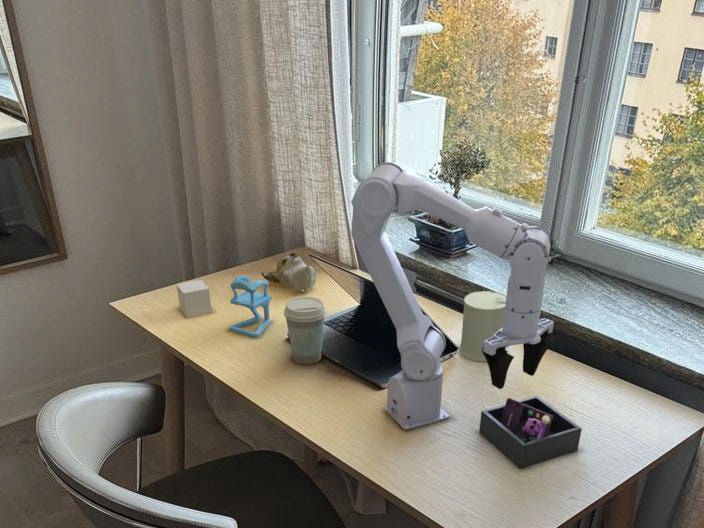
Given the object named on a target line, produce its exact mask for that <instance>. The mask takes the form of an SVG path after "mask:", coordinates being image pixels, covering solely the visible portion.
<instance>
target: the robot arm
mask: <svg viewBox="0 0 704 528" xmlns="http://www.w3.org/2000/svg"><path fill="white" fill-rule="evenodd" d="M351 206H352V214H351V216H352V217H351V232H350V234H351V238H352V240H353V243H354V245H355V247H356V249H357V251H358V253H359V255H360V257H361V259H362V261H363V263H364V265H365V267H366V270H367V272H368V274H369V277H370V278H371V280H372V282H373V285H374V286H375V289H376V290H377V292H378V294H379V297H380V299H381V301H382V303H383V306H384V307H385V309H386V311H387V313H388V316H389V317H390V319H391V322H392V324H393V326H394V328H395V330H396V345H397V350H398V351H399V354H400V366H401V370H400V371H399V372H398V373H397V374H395V375H393V376H391V377H389V379H388V381H387V393H386V394H387V395H386V396H387V399H386V407H385V408H384V410H385V412H386V413H387V414H388V415H389V416H390V417H391V418H392V419H393V420H394V421H395V422H396V423H397V425H399V426H400V427H401V428H402V429H403V430H406V431H407V430H412V429H416V428H418V427H422V426H426V425H430V424H433V423H436V422H441V421H444V420H448V419H450V414H449V413H448V412H446V410H444V408H442V394H443V393H442V391H443V381H444V380H443V379H444V366H443V365H442V363H441V360H440V359H441V357H442V355H443V352H444V351H445V350H446V346H447V345H446V344H447V341H446V337H445V335H444V334H443V332H442V331H441V330H439V329H438V328H437V327H436V326H435V325H434V323H433V321H432V319H431V318H430V317H429V316H428V315H425V314H424V313H423V310H422V309H421V307H420V304H419V302H418V300H417V297H416V295H415V294H414V291H413V289H412V288H411V287H412V286H411V285H410V282H409V280H408V278H407V277H406V274H405V271H404V269H403V267H402V266H401V263H400V261H399V259H398V257H397V254H396V252H395V250H394V248H393V246H392V243H391V241H390V239H389V237H388V235H387V233H386V228H387V225H388V223H389V221H390V218H391V216H392V212H393V210H394V209H395V207H397V211H396V213H397V214H398V215H400V214H405V213H409V212H414V211H416V210H417V211H418V210H419V211H422V212H423V213H426V214H428V215H431V216H432V217H435V218H438V219H439V220H442V221H444V222H447V224H448V223H449V224H451V225H453V226H455V227H457V228H459V229H461V230H464V231H465V234H466V237H467V240H468V242H469V243H471V244H473V245H475V246H477V247H479V248H481V249H483V250H484V251H487V252H489V253H491V254H492V255H494V256H496V257H498V258H499V259H500V258H501V259H502V260H504V261H508V263H509V266H510V268H511V269H510V276H509V277H508V279H507V280H508V281H507V287H506V288H507V289H506V295H505V296H506V304H505V312H504V321H503V327H502V328H501V329H500V330H499V331H498V332H497V333H495V334H494V335H493V336H492V337H491V338H489V339H487V340H485V341H484V345H483V347H482V353H483V354H484V356H485V358H486V361H485V362H486V363H487V366H488V369H489V374H490V381H491V385H492V386H493V387H495V388H497V389H498V390H502V389H503V388H504V387H505V384H506V380H507V374H508V371H509V368H510V365H511V363H512V361H513V360H514V359H515V356H513V355H511V354H510V353H508V351H507V350H506V348H508V347H511V346H518V345H522V347H523V358H522V372H523V373H525V374H527V375H528V376H531V377H533V376H535V374H536V372H537V370H538V367H539V365H540V363H541V361H542V360H543V357H544V356H545V353H546V352H547V351H548V350H549V348H550V347H551V346H552V345H553V344H554V337H552V336H551V335H549V334H551V333H553V331H554V330H553V329H554V323H555V322H554V321H553V320H551V319H549V318H546V317H545V318H541V319H540V316H541V310H542V303H543V297H544V289H545V284H546V283H545V282H546V281H545V280H546V279H545V277H546V273H547V266H548V264H549V262H550V261H549V260H550V259H549V256H550V251H551V239H550V237H549V236H548V234H547V233H546V231H544V230H542V229H541V227H540V226H536V225H531V226H530V225H529V224H528V223H526V222H524V223H522V224H521V223H519V222H518V221H515V220H513V219H512V218H509V217H507V216H505V215H503V214H502V212H503V209H501V208H499V207H497V206H494V208H493V209H492V208H490V207H489V206H484V207H481V208H477V209H474V208H473V207H471V206H469V205H468V204H466V203H464V202H463V201H461V200H460V199H458V198H456V197H455V196H453V195H451V194H449V193H448V192H446V191H445V190H443V189H441V188H439V187H437V186H436V185H435V184H432V183H430V182H429V181H428V180H426V179H424V178H422V177H421V176H420V175H419V174H417V173H416V172H414V171H413V170H411V169H408V168H404V169H403V168H402V167H401V166H400V165H399V164H397V163H395V162H392V161H385V162H381V163H379V164H377V165H376V166H375V167H374V168H373V170H372V171H371V172H370V174H369V175H368V176H367V177H366V178H364V179H363V180H362V181H361V182H360V183H359V185H358V186H357V188H356V191H355V193H354V195H353V196H352V199H351Z"/></svg>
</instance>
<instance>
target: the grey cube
mask: <svg viewBox="0 0 704 528" xmlns="http://www.w3.org/2000/svg"><path fill="white" fill-rule="evenodd" d="M176 291H177V297H178V303H179V309H180V311H181V313H183V314H184V316H185V317H186V318H188V319H189V318H193V317H199V316H203V315H208V314H212V313H213V309H212V301H211V293H210V288H209V287H208V286H207V284H206V283H205V282H204V281H203V280H202V279H198V280H192V281H186V282H180V283H176Z"/></svg>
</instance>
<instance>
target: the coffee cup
mask: <svg viewBox="0 0 704 528" xmlns="http://www.w3.org/2000/svg"><path fill="white" fill-rule="evenodd" d="M326 315H327V309H326V307H325V305H324V301H322V300H321V299H319V298H317V297H313V296H300V297H299V296H298V297H294V298H292V299H289V300H288V301H287V302H286V303H285V308H284V310H283V316H284V318H285V320H286V325H287V326H286V327H287V332H288V336H289V342H290V347H291V352H292V359H293V360H294V362H296V363H297V364H301V365H312V364H316V363H318V362H319V361H320V360H321V359H322V353H321V350H322V351H323V339H324V330H325V329H324V328H325V317H326Z"/></svg>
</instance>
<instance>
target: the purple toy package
mask: <svg viewBox="0 0 704 528" xmlns="http://www.w3.org/2000/svg"><path fill="white" fill-rule="evenodd" d="M518 401H519V400H516V399H513V398H510V397H508V398H507V399H506V402H505V404H506V405H505V408H504V411H503V414H502V417H501V420H500V423H501V424H502V425H503V426H505V427H506V428H507V429H508V430H510V431H511V432H512V433H513V434H514V435H515V433H516V430H517V427H518V424H519V421H520V418H521V415H522V412H523V409H524V407H527V408H529V410H528V411H527V414H528V416H530V417H533V416H534V417H535V418H533V419H530V418H528V421H527V422H526V424H525V427H522V428H523V430H522V431H524V432H525V434H526V435H527V436H529V437H537V438H536V439H540V438H542V437H543V435H544V432H545V429H546V426H547V424H548V426H547V429H546V432H545V435H544V437H546V436H547V435H548V432H549V429H550V426H551V423H552V420H553V416H552V415H549V414H547V413H545V412H542V411H540V410H537V409H535V408H533V407H530V406H528V405H525V404H523V403H521V402H518ZM535 411H536V413H535ZM542 414H543V415H544V416H543V417H542ZM541 418H542V421H541V422H542V423H541V422H540V419H541Z"/></svg>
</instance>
